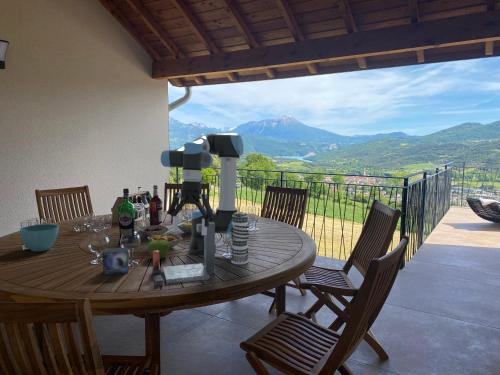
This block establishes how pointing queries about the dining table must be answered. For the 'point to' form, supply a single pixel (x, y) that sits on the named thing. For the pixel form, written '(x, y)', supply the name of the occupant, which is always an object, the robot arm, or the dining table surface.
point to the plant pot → (39, 236)
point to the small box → (115, 261)
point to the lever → (156, 262)
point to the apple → (159, 247)
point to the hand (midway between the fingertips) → (189, 233)
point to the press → (192, 270)
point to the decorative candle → (239, 238)
